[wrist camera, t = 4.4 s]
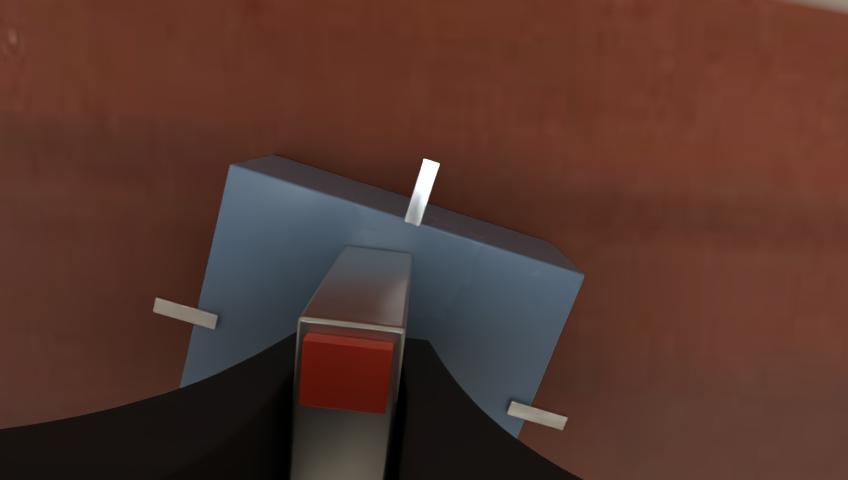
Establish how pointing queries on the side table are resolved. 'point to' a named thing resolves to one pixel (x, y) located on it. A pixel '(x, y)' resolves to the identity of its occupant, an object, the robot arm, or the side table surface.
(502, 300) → the block
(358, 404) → the grey rectangular bar
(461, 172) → the side table surface
